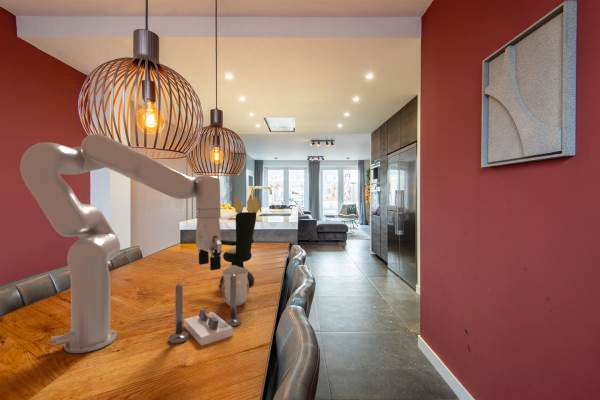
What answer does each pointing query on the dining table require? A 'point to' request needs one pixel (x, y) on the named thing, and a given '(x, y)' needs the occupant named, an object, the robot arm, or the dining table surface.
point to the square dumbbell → (212, 320)
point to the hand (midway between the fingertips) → (209, 266)
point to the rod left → (178, 318)
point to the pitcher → (241, 284)
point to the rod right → (233, 304)
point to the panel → (207, 329)
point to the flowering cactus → (242, 236)
